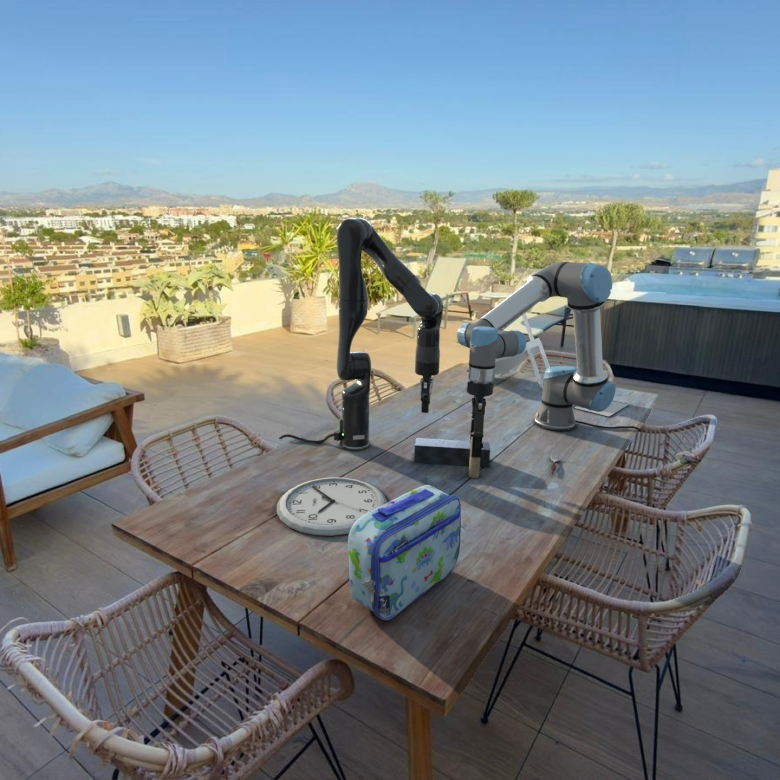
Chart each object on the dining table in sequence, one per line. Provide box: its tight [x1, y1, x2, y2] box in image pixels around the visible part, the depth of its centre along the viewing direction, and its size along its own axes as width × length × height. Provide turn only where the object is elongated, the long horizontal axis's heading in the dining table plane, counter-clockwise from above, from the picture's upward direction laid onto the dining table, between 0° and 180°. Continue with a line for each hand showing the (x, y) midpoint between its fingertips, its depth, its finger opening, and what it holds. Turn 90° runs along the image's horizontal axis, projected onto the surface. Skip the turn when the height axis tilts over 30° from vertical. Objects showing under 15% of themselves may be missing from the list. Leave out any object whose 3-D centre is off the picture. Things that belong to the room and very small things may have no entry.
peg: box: [468, 432, 481, 479], centre depth 159 cm, size 3×3×14 cm
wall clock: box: [276, 476, 388, 537], centre depth 142 cm, size 30×2×30 cm
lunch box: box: [347, 484, 462, 621], centre depth 107 cm, size 26×11×21 cm, turn 134°
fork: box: [550, 450, 560, 475], centre depth 169 cm, size 3×16×2 cm, turn 160°
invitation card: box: [573, 400, 629, 418], centre depth 226 cm, size 21×1×15 cm
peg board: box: [413, 437, 491, 468], centre depth 171 cm, size 24×6×6 cm, turn 83°
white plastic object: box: [494, 312, 551, 390], centre depth 259 cm, size 37×45×31 cm
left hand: (425, 408), depth 167 cm, fingers open, 8 cm apart
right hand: (475, 447), depth 158 cm, fingers open, 13 cm apart
